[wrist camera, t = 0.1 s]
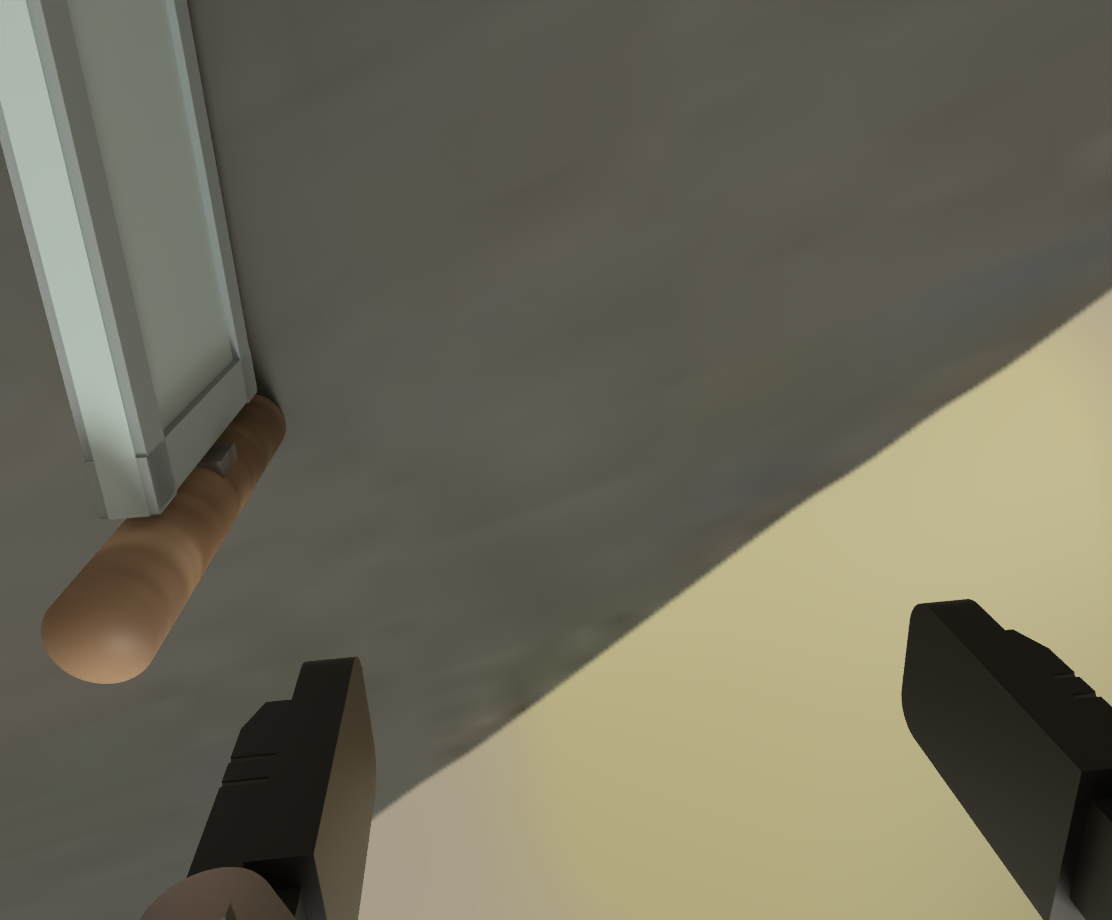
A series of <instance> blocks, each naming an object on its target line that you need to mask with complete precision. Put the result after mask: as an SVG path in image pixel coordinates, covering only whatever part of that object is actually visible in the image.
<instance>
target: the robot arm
mask: <svg viewBox="0 0 1112 920" xmlns="http://www.w3.org/2000/svg"><path fill="white" fill-rule="evenodd" d="M902 707H903V712H904V716H905V720H906V722H907V725H908V728H909V730H910V732H911V734H912V735H913V737H914V739H915V740H916V741H917V743H918V744H919V746H920V747H921V748H922V750H923V751H924V753H925V754H926V755H927V756H928V758H929V760H930V761H931V762H932V764H933V765H934V767H935V768H936V770H937V771H938V772H939V774H940V775H941V777H942V778H943V779H944V781H945V782H946V784H947V785H948V786H949V788H950V789H951V791H952V792H953V793H954V795H955V796H956V798H957V799H958V800H959V802H960V803H961V804H962V806H963V807H964V809H965V810H966V812H967V813H968V814H969V816H970V817H971V819H972V820H973V821H974V823H975V824H976V826H977V827H978V829H979V830H980V831H981V833H982V834H983V836H984V837H985V838H986V840H987V841H988V842H989V844H990V845H991V847H992V848H993V850H994V851H995V852H996V854H997V855H998V856H999V858H1000V859H1001V861H1002V862H1003V864H1004V865H1005V866H1006V868H1007V869H1008V871H1009V872H1010V873H1011V875H1012V876H1013V878H1014V879H1015V880H1016V882H1017V883H1018V885H1019V886H1020V888H1021V889H1022V890H1023V892H1024V893H1025V895H1026V896H1027V897H1028V899H1029V900H1030V901H1031V903H1032V904H1033V906H1034V907H1035V909H1036V910H1037V911H1038V913H1039V914H1040V916H1041V917H1042V918H1043V920H1112V707H1111V706H1110V705H1109V704H1108V703H1107V702H1106V701H1105V700H1104V699H1103V698H1102V697H1096V694H1095V691H1094V690H1093V689H1092V688H1091V687H1090V686H1089V685H1088V684H1087V683H1086V682H1084V681H1083V680H1082V679H1081V678H1080V677H1075V675H1074V671H1072V670H1071V669H1070V668H1069V667H1068V666H1067V665H1066V664H1065V663H1064V662H1063V661H1062V660H1061V659H1059V658H1058V657H1057V656H1056V655H1055V654H1054V653H1053V652H1052V651H1051V650H1050V649H1049V648H1047V647H1045V646H1043V645H1041V644H1039V643H1037V642H1035V641H1034V640H1032V639H1030V638H1028V637H1026V636H1024V635H1022V634H1020V633H1018V632H1017V631H1015V630H1004V629H1003V628H1002V627H1001V626H1000V625H999V624H998V623H997V622H996V621H995V620H994V619H993V618H992V617H991V616H990V615H989V614H988V613H987V612H985V610H984V609H982V608H981V607H980V606H979V605H978V604H977V603H976V602H975V601H973V600H970V599H965V600H954V601H944V602H933V603H923V604H918V605H916V606H915V607H914V609H913V611H912V613H911V617H910V625H909V632H908V641H907V650H906V658H905V667H904V675H903V684H902ZM375 789H376V757H375V747H374V740H373V734H372V727H371V721H370V715H369V709H368V703H367V696H366V690H365V684H364V678H363V672H362V667H361V663H360V660H359V658H358V657H349V658H339V659H328V660H318V661H308V662H304V663H303V665H302V667H301V670H300V674H299V677H298V680H297V684H296V687H295V690H294V694H293V697H292V700H284V701H274V702H266V703H265V704H264V705H263V706H262V707H261V708H260V709H259V710H258V711H257V712H256V713H255V715H254V716H253V717H252V718H251V719H250V720H249V721H248V722H247V723H246V724H245V725H244V726H243V727H242V728H241V731H240V734H239V736H238V739H237V742H236V745H235V747H234V750H233V753H232V755H231V763H229V764H228V766H227V769H226V772H225V774H224V777H223V780H222V787H221V788H219V791H218V794H217V796H216V799H215V802H214V804H213V807H212V810H211V813H210V815H209V818H208V821H207V823H206V826H205V829H204V832H203V834H202V837H201V840H200V842H199V845H198V848H197V851H196V853H195V856H194V859H193V862H192V864H191V867H190V870H189V872H188V875H187V878H186V879H184V880H182V881H180V882H178V883H177V884H175V885H174V886H172V887H171V888H169V889H168V890H167V891H165V892H164V893H163V894H162V895H161V896H159V897H158V898H157V899H156V900H155V901H154V902H153V903H152V904H151V905H150V906H149V908H148V909H147V910H146V912H145V913H144V914H143V915H142V917H141V919H140V920H358V915H359V906H360V900H361V892H362V885H363V878H364V871H365V863H366V856H367V849H368V841H369V833H370V826H371V819H372V812H373V805H374V798H375Z"/></svg>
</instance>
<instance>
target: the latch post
mask: <svg viewBox="0 0 1112 920" xmlns="http://www.w3.org/2000/svg"><path fill="white" fill-rule="evenodd" d="M285 430H286V424H285V419H284V416H283V414H282V412H281V410H280V409H279V407H278V406H277V405H276V404H275V403H274V402H272V401H271V400H269V399H268V398H266V397H264V396H261V395H257V394H255V395H254V397H253V398H252V399H251V400H250V402H249V403H246V404H245V405H244V406H243V408H242V409H241V410H240V411H239V413H238V414H237V415H236V416H235V418H234V419H233V420H232V421H231V423H230V424H229V425H228V426H227V428H226V429H225V430H224V432H223V433H222V434H221V435H220V437H219V438H218V439H217V440H216V442H215V443H214V444H213V445H212V447H211V448H210V449H209V450H208V452H207V453H206V454H205V455H204V457H203V458H202V459H201V460H200V462H199V463H198V464H197V465H196V467H195V468H194V469H193V470H192V472H191V473H190V474H189V476H188V477H187V478H186V479H185V481H184V482H183V483H182V484H181V486H180V487H179V488H178V489H177V494H176V496H175V497H174V498H173V499H172V501H171V502H170V503H169V504H168V506H167V507H166V508H165V510H164V511H163V512H162V513H161V514H157V515H150V516H148V517H135V518H127V519H126V520H125V521H124V522H123V523H122V524H121V526H120V527H119V528H118V529H117V530H116V531H115V532H114V534H113V535H112V536H111V537H110V538H109V539H108V541H107V542H106V543H105V544H104V545H103V546H102V548H101V549H100V550H99V551H98V552H97V553H96V554H95V556H94V557H93V558H92V559H91V560H90V561H89V563H88V564H87V565H86V566H85V567H84V568H83V569H82V571H81V572H80V573H79V574H78V575H77V576H76V578H75V579H74V580H73V581H72V582H71V583H70V585H69V586H68V587H67V588H66V589H65V590H64V591H63V593H62V594H61V595H60V596H59V597H58V598H57V600H56V601H55V602H54V603H53V604H52V605H51V607H50V608H49V609H48V611H47V612H46V614H45V616H44V618H43V621H42V626H41V637H42V641H43V644H44V647H45V649H46V651H47V653H48V655H49V656H50V657H51V659H52V660H53V661H54V662H55V663H56V664H57V665H58V666H59V667H60V668H61V669H63V670H64V671H66V672H67V673H69V674H70V675H72V676H74V677H76V678H79V679H82V680H85V681H88V682H93V683H101V684H112V683H119V682H123V681H126V680H129V679H131V678H133V677H135V676H137V675H139V674H140V673H141V672H143V671H144V670H145V669H146V668H147V667H148V665H149V664H150V663H151V661H152V659H153V658H154V656H155V654H156V653H157V651H158V649H159V648H160V646H161V644H162V643H163V641H164V639H165V637H166V636H167V634H168V632H169V631H170V629H171V627H172V626H173V624H174V622H175V621H176V619H177V617H178V616H179V614H180V612H181V610H182V609H183V607H184V605H185V604H186V602H187V600H188V599H189V597H190V595H191V594H192V592H193V590H194V588H195V587H196V585H197V583H198V582H199V580H200V578H201V577H202V575H203V573H204V572H205V570H206V568H207V567H208V565H209V563H210V561H211V560H212V558H213V556H214V555H215V553H216V551H217V550H218V548H219V546H220V545H221V543H222V541H223V539H224V538H225V536H226V534H227V533H228V531H229V529H230V528H231V526H232V524H233V523H234V521H235V519H236V518H237V516H238V514H239V512H240V511H241V509H242V507H243V506H244V504H245V502H246V501H247V499H248V497H249V496H250V494H251V492H252V490H253V489H254V487H255V485H256V484H257V482H258V480H259V479H260V477H261V475H262V474H263V472H264V470H265V469H266V467H267V465H268V463H269V462H270V460H271V458H272V457H273V455H274V453H275V452H276V450H277V448H278V447H279V445H280V443H281V441H282V440H283V438H284V435H285Z"/></svg>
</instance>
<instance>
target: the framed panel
mask: <svg viewBox="0 0 1112 920" xmlns="http://www.w3.org/2000/svg"><path fill="white" fill-rule="evenodd" d="M0 141H1V145H2V149H3V152H4V156H5V160H6V164H7V168H8V171H9V175H10V179H11V183H12V187H13V190H14V194H15V198H16V202H17V206H18V209H19V213H20V217H21V221H22V224H23V228H24V232H25V236H26V240H27V243H28V247H29V251H30V255H31V259H32V262H33V266H34V270H35V274H36V278H37V281H38V285H39V289H40V293H41V297H42V300H43V304H44V308H45V312H46V316H47V319H48V323H49V327H50V331H51V334H52V338H53V342H54V346H55V350H56V353H57V357H58V361H59V365H60V369H61V372H62V376H63V380H64V384H65V388H66V391H67V395H68V399H69V403H70V407H71V410H72V414H73V418H74V422H75V426H76V429H77V433H78V437H79V441H80V445H81V448H82V452H83V456H84V460H85V461H84V466H85V470H86V474H87V478H88V481H89V485H90V489H91V493H92V496H93V500H94V504H95V508H96V512H97V515H98V517H100V519H105V518H109V519H122V518H135V517H148V516H150V515H157V514H161V513H162V512H163V511H164V510H165V508H166V507H167V506H168V504H169V503H170V502H171V501H172V499H173V498H174V497H175V496H176V494H177V489H178V488H179V487H180V486H181V484H182V483H183V482H184V481H185V479H186V478H187V477H188V476H189V474H190V473H191V472H192V470H193V469H194V468H195V467H196V465H197V464H198V463H199V462H200V460H201V459H202V458H203V457H204V455H205V454H206V453H207V452H208V450H209V449H210V448H211V447H212V445H213V444H214V443H215V442H216V440H217V439H218V438H219V437H220V435H221V434H222V433H223V432H224V430H225V429H226V428H227V426H228V425H229V424H230V423H231V421H232V420H233V419H234V418H235V416H236V415H237V414H238V413H239V411H240V410H241V409H242V408H243V406H244V405H245V404H246V403H249V402H250V400H251V399H252V398H253V397H254V395H255V394H256V393H257V386H256V380H255V374H254V369H253V363H252V358H251V352H250V349H249V345H248V339H247V334H246V328H245V323H244V317H243V311H242V306H241V300H240V295H239V289H238V284H237V278H236V273H235V267H234V261H233V256H232V250H231V245H230V239H229V234H228V228H227V223H226V217H225V211H224V206H223V200H222V195H221V189H220V184H219V178H218V173H217V167H216V161H215V156H214V150H213V145H212V139H211V134H210V128H209V123H208V117H207V111H206V106H205V100H204V95H203V89H202V84H201V78H200V73H199V67H198V61H197V56H196V50H195V45H194V39H193V34H192V28H191V23H190V17H189V11H188V6H187V0H0Z"/></svg>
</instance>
